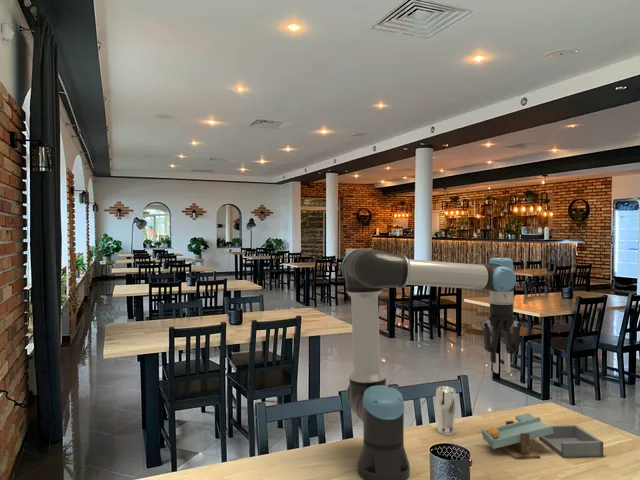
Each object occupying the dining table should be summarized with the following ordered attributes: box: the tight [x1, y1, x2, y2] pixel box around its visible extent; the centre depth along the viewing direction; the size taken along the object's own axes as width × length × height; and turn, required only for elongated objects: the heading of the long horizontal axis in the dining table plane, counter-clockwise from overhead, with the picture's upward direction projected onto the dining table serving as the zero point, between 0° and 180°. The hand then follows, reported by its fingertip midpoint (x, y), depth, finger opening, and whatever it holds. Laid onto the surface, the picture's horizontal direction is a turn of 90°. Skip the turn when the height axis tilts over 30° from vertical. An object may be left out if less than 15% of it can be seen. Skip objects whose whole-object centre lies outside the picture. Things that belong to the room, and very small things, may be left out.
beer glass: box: [435, 385, 457, 436], centre depth 169 cm, size 7×7×15 cm
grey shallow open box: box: [538, 424, 604, 459], centre depth 156 cm, size 13×14×4 cm
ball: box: [487, 426, 499, 439], centre depth 154 cm, size 4×4×4 cm
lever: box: [480, 412, 554, 450], centre depth 157 cm, size 20×15×3 cm
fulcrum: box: [502, 420, 541, 460], centre depth 154 cm, size 8×13×7 cm, turn 4°
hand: (501, 371), depth 163 cm, fingers open, 3 cm apart
